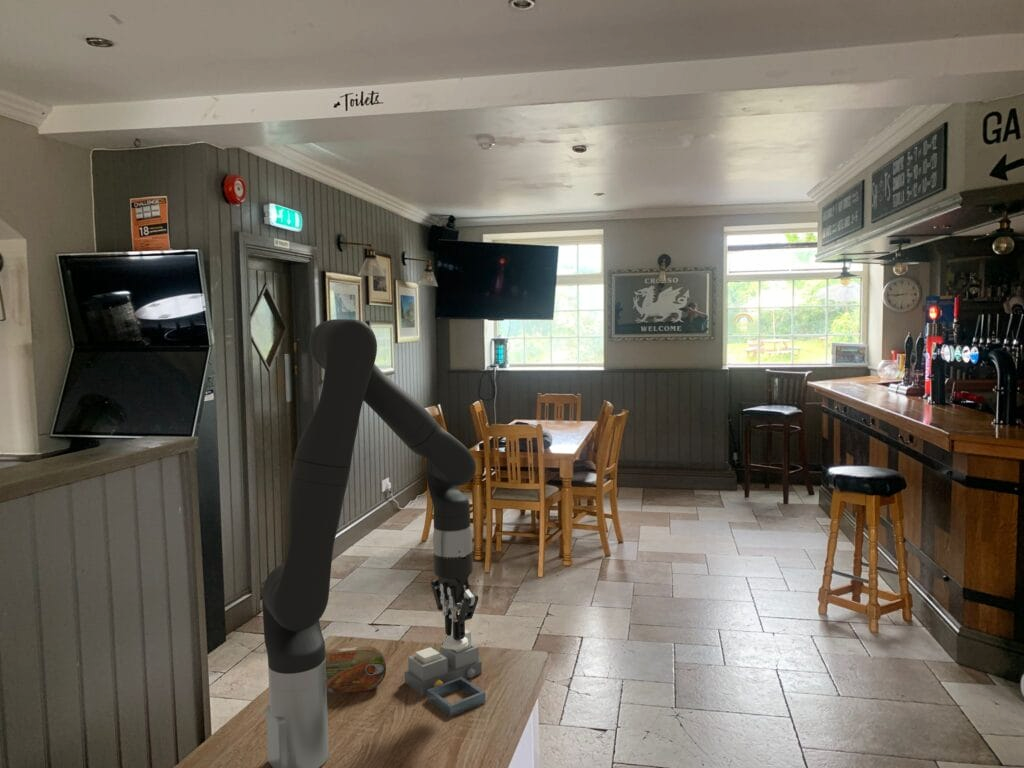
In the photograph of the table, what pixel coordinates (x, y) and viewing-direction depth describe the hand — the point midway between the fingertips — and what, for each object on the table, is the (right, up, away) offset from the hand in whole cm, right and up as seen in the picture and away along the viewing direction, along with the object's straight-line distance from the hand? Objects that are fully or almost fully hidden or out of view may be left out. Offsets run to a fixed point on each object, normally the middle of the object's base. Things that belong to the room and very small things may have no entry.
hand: (455, 636), depth 138 cm
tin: (-22, -13, +6) cm, 27 cm away
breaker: (0, -7, +13) cm, 14 cm away
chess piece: (0, -2, 0) cm, 2 cm away
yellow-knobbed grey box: (-3, -12, +10) cm, 17 cm away
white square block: (-6, -9, +8) cm, 14 cm away
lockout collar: (0, -13, +1) cm, 13 cm away
